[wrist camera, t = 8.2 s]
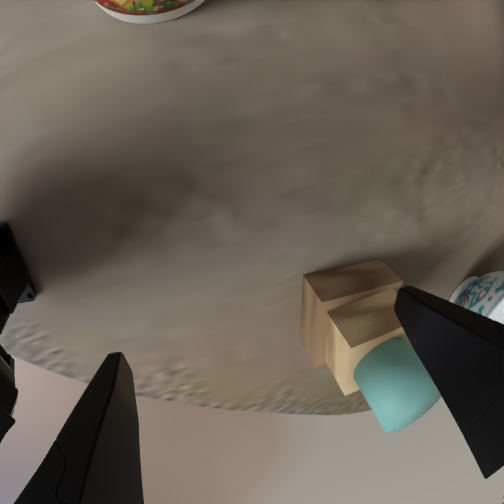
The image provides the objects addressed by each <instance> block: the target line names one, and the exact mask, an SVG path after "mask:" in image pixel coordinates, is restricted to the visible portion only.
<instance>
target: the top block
mask: <svg viewBox="0 0 504 504" xmlns="http://www.w3.org/2000/svg"><path fill="white" fill-rule="evenodd" d="M396 296H397V293H396V292H395V291H394V289H393V288H392V289H389V290H386V291H384V292H381V293H378V294H376V295H373V296H370V297H367V298H365V299H362V300H359V301H356V302H353V303H351V304H348V305H345V306H342V307H339V308H336V309H333V310H330V311H327V312H326V363H327V365H328V366H329V368H330V370H331V372H332V373H333V375H334V377H335V379H336V381H337V382H338V384H339V386H340V388H341V389H342V391H343V393H344V395H348V394H350V393H353V392H355V391H357V390H360V389H359V387H358V386H357V384H356V382H355V381H354V379H353V373H354V370H355V368H356V366H357V364H358V363H359V362H360V360H361V359H362V358H363V357H364V356H365V355H366V354H367V353H368V352H369V351H370V350H372V349H373V348H374V347H376V346H377V345H379V344H381V343H382V342H384V341H386V340H389V339H392V338H397V337H401V338H404V339H406V340H407V341H408V343H409V344H410V342H409V340H408V338H407V336H406V334H405V332H404V330H403V328H402V326H401V324H400V322H399V320H398V318H397V316H396V314H395V312H394V304H395V300H396ZM410 345H411V344H410Z"/></svg>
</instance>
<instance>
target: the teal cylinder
mask: <svg viewBox="0 0 504 504" xmlns="http://www.w3.org/2000/svg"><path fill="white" fill-rule="evenodd" d="M353 379H354V381H355V382H356V384H357V386H358V387H359V389H360V391H361V392H362V394H363V396H364V397H365V399H366V400H367V402H368V404H369V405H370V407H371V409H372V410H373V412H374V414H375V415H376V417H377V419H378V420H379V422H380V424H381V425H382V427H383V429H384V430H385V431H386V432H393V431H397V430H399V429H402V428H404V427H406V426H408V425H409V424H411V423H413V422H414V421H416V420H417V419H418V418H420V417H421V416H422V415H424V414H425V413H426V412H427V411H428V410H429V409H430V408H431V407H432V406H433V405H434V404H435V403H436V402H437V401H438V399H439V398H440V397H441V394H440V392H439V391H438V389H437V387H436V386H435V384H434V382H433V381H432V379H431V377H430V375H429V374H428V372H427V370H426V369H425V367H424V366H423V364H422V362H421V361H420V359H419V357H418V356H417V354H416V353H415V351H414V349H413V348H412V346H411V345H410V344H409V343H408V341H407V340H406V339H404V338H401V337H397V338H392V339H389V340H386V341H384V342H382V343H381V344H379V345H377V346H376V347H374V348H373V349H372V350H370V351H369V352H368V353H367V354H366V355H365V356H364V357H363V358H362V359H361V360H360V362H359V363H358V364H357V366H356V368H355V370H354V373H353Z"/></svg>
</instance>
